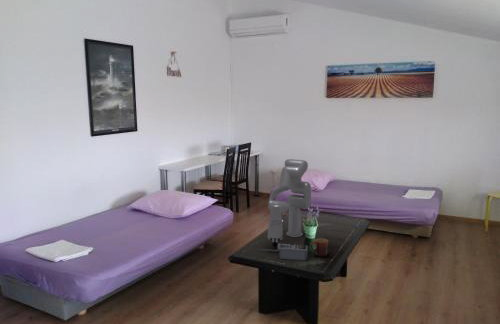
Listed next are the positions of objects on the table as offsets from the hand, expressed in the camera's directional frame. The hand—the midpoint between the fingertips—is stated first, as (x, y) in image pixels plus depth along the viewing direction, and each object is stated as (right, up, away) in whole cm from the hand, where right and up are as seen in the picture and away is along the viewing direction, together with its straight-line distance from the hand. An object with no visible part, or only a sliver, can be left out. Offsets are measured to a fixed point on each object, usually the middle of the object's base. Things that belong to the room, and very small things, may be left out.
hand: (275, 247), depth 274 cm
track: (-4, -2, +1) cm, 5 cm away
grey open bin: (+12, -4, -9) cm, 15 cm away
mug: (+29, -4, -7) cm, 30 cm away
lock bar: (+9, -3, -1) cm, 9 cm away
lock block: (+12, -4, -8) cm, 15 cm away
